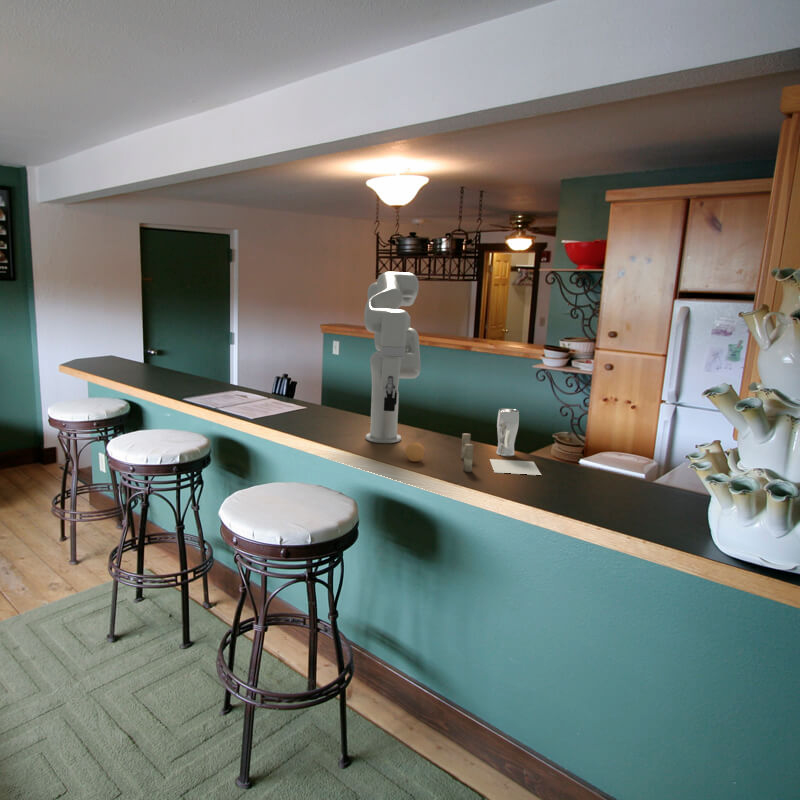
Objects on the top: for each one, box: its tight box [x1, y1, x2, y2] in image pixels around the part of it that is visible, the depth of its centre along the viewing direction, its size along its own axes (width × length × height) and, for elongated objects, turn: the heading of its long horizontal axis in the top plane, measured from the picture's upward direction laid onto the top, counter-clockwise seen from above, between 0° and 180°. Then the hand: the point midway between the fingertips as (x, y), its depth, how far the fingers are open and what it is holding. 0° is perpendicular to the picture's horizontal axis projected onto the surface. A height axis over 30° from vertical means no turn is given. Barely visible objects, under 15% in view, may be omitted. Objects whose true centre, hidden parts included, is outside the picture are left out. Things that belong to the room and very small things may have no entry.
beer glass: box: [495, 407, 520, 457], centre depth 189 cm, size 7×7×15 cm
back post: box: [460, 433, 472, 460], centre depth 182 cm, size 3×3×8 cm
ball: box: [405, 441, 426, 463], centre depth 177 cm, size 6×6×6 cm
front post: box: [462, 443, 474, 473], centre depth 169 cm, size 3×3×8 cm
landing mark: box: [489, 458, 542, 477], centre depth 176 cm, size 14×14×1 cm
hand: (390, 407), depth 174 cm, fingers open, 9 cm apart
